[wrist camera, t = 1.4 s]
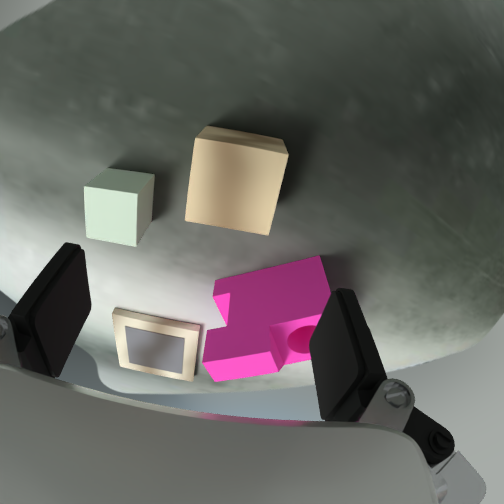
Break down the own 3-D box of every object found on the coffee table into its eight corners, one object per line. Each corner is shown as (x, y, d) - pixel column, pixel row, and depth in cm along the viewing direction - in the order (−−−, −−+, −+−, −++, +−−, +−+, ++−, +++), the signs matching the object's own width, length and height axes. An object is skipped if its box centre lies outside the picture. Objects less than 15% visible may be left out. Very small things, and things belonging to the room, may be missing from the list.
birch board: (200, 325, 34) (198, 332, 33) (193, 375, 39) (192, 382, 38) (114, 307, 33) (111, 314, 32) (122, 360, 38) (119, 366, 37)
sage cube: (155, 174, 25) (137, 193, 21) (151, 221, 28) (136, 246, 24) (107, 167, 25) (83, 186, 21) (107, 213, 27) (86, 237, 23)
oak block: (282, 139, 24) (288, 154, 19) (266, 206, 27) (268, 235, 23) (206, 125, 23) (195, 138, 19) (196, 194, 26) (184, 220, 22)
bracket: (215, 279, 31) (202, 362, 22) (319, 254, 29) (342, 335, 21) (251, 355, 37) (249, 430, 28) (335, 337, 35) (351, 412, 27)
